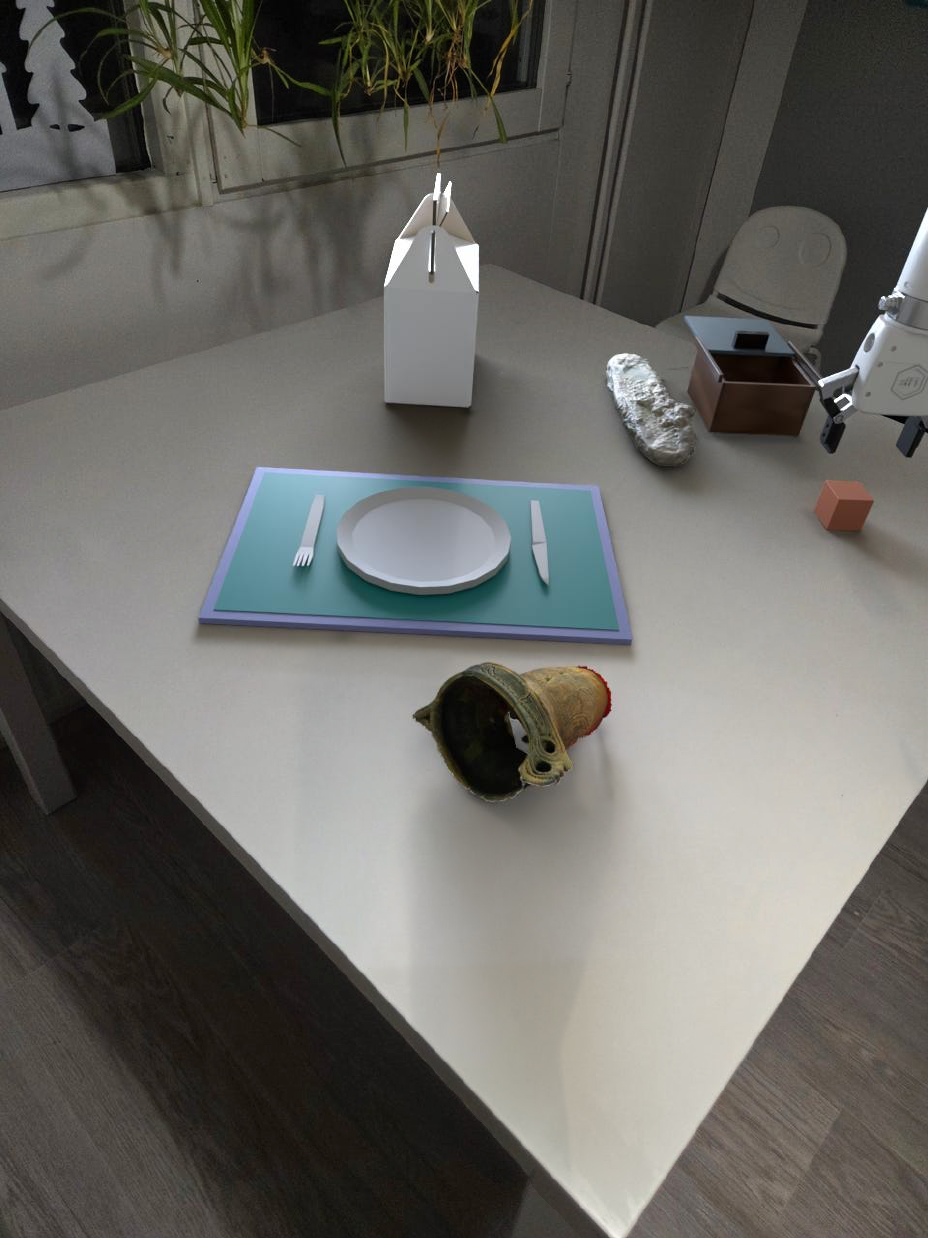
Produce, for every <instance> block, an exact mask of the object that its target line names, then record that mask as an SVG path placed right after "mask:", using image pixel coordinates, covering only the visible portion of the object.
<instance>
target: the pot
mask: <svg viewBox="0 0 928 1238" xmlns="http://www.w3.org/2000/svg"><path fill="white" fill-rule="evenodd" d="M612 706H613V704H612V691H611V689H610V686H608V681H606V680H605V678H603V676H602V675H601V674H600V673H599V672H596V670H594V669H591V668H588V666H587V665H578V666H572V665H570V666H569V665H566V666H564V665H563V666H549V667H546V666H545V667H540V668H536V669H532V670H530V671H526V672H523V673H520V674H519V673H518V672H516V671H515V670H514V669H511V668H510V667H507V666H505V665H502V664H499V663H496V662H491V661H487V662H481V663H478V664H474V665H471V666H469V667H467V668H465V669H464V670H462V671H461V672H458V673H456V674H453V675H452V676H450V677H449V678H447V680H445V681H444V682H443V684H442V685H441V686H440V688H439V689H438V691H437V693H436V696H435V698H434V699H433V700H432V701H431V702H430V703H429V704H427V705H425V706H423V707H420V708H418V709H417V710H415V712H414V713H413V714H412V715H411V719H412V720H415V723H419V724H420V725H421V726H422V727H424V729H425V730H427V731H428V732H431V734H432V735H431V737H432V738H433V739H434V741H435V743H436V750H437V751H438V753H439V754H440V755H439V756H440V758H443V763H444V764H445V766H446V767H447V770H448V771H449V772H450V774H451V775H452V777H453V779H455V780H456V782H457V783H458V784H459V785H461V787H462V788H464V789H465V790H466V791H469V792H470V793H471V794H472V795H475V797H477V798H479V799H484V801H485V802H492V803H493V804H494V803H495V802H498V803H500V802H504V801H506V800H507V799H509V798H510V799H511V800H513V799H514V798H516V796H517V795H519V793H520V792H523V790H525V789H527V788H528V787H530V786H536V787H539V786H540V787H549V786H551V785H555V786H559V784H560V783H561V780H563V779H564V777H565V775H566V773H569V771H571V772H572V770H573V762H572V760H571V759H570V757H569V756H568V753H567V750H569V749H570V748H571V747H572V746H574V745H575V744H576V743H577V742H578V741H579V739H583V738H586V737H589V736H591V735H592V733H594V732H595V731H596V730H598V729H599V727H600V725H601V723H602V721H603V719H606V718H607V717H608V716H609V715H610V713H611V712H612ZM512 720H513V721H518V722H519V724H520V725H521V727H522V729H523V730H524V731H525V735H523V736H522V737H521V738H520V741H521V742H522V743H524V744H528V751H527V752H526V751H525V750H523V749H521V748H519V747H518V746H517V742H516V737H515V734H514V730H513V726H512V722H511V721H512ZM513 797H514V798H513Z"/></svg>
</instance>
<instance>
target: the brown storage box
mask: <svg viewBox="0 0 928 1238" xmlns="http://www.w3.org/2000/svg"><path fill="white" fill-rule="evenodd" d="M787 345H788V346H789V347H790V348H791V349H792V351H793V352H794V353H795V355H794V357H779V356H757V355H735V354H713V353H709V351H708V350H707V348H706V346H705V345H704V343H703V342H702V340H701V339H700V337H695V338H694V346H695V348H696V350H697V351H696V355H695V358H694V362H693V365H692V371H691V375H690V379H689V382H688V386H687V391H686V393H687V394H688V397H689V398H690V400H691V402H692V404H693V405H694V407H695V409H696V411H697V413H698V416H699V417H700V418H701V420H702V422H703V424H704V426H705V427H706V429H707V432H708V433H710V434H732V435H733V434H734V435H759V436H783V437H799V436H800V434H801V431H802V429H803V427H804V424H805V420H806V417H807V415H808V412H809V409H810V407H811V404H812V401H813V398H814V395H815V393H816V390H817V387H818V382H819V381H820V380H822V379H824V378H825V377H823V376H822V374H821V373H820V372H819V371H818V370H817V368H816V367H815V366H814V365H813V364H812V363H811V361H810V360H809V359H808V358H807V357H806V356H805V354H804V353H803V352H802V351H801V350H800V349H799V347H798V346H797V345H796V344H795V343H794V341H792V340H789V341H788V343H787Z"/></svg>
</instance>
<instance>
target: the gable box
mask: <svg viewBox="0 0 928 1238" xmlns="http://www.w3.org/2000/svg"><path fill="white" fill-rule="evenodd" d="M435 180H436V181H435V187H434V192H430V193H429V194H426V196H425V197H424V198H423V200H422V201H421V203H420V204H419V206H418V207H417V209H416V210H415V211H414V213H413V215H412V217H410V220H409V221H408V223H407V224H406V226H405V227H404V229H403V230H402V232H401V233H400V235H399V236H398V238H397V239H396V240H395V242H394V245H393V250H392V253H391V258H390V262H389V265H388V270H387V272H386V273H387V274H386V277H385V281H384V285H383V355H384V356H383V357H384V358H383V359H384V361H383V364H384V365H383V366H384V367H383V368H384V369H383V370H384V371H383V375H384V379H383V381H384V382H383V383H384V384H383V385H384V387H383V389H384V393H383V394H384V396H383V397H384V403H386V404H400V405H401V404H403V405H417V406H432V407H433V406H435V407H449V408H450V407H452V408H465V409H466V408H467V409H469V408H471V406H472V397H473V384H474V369H475V357H476V355H475V354H476V340H477V329H478V328H477V327H478V311H479V299H480V298H479V296H480V255H479V254H480V245H479V244H477V242H476V240H475V239H474V236H473V235H472V233H471V231H470V230H469V227H468V226H467V224H466V222H465V220H464V218H463V216H462V215H461V213H460V211H459V209H458V207H457V205H456V203H455V201H454V200H453V198H452V196H451V191H452V189H451V188H452V182H451V181H449V182H448V185H447V186H446V188H445V191H444V192H441V181H442V174H441V173H437V174H436V179H435Z"/></svg>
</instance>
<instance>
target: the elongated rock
mask: <svg viewBox="0 0 928 1238" xmlns="http://www.w3.org/2000/svg"><path fill="white" fill-rule="evenodd" d="M605 370H606V371H605V377H606V379H607V383H606V384H607V385H606V388H607V389H608V391H609V392H610V393H611V394H612V396H613V400H614V401H613V402H614V409H615V410H616V411H618V413H619V415H620V418H621V421H622V426H623V427H624V429H625V430H627V432H628V434H629V435H630V438H631V439H632V442H634V443H635V445H634V446H635V448H636V449H637V451H640V452H641V453H642V455H643V456H644V457H645V458H647V459H648V460H649V461H651V462H652V463H654V464H655V465H657V466H661V467H675V466H677V467H678V466H681V465H684V464H686V463H687V461H688V460H689V458H690V456H691V457H692V456H693V454H694V453H695V449H696V446H697V440H698V438H697V437H698V435H697V432H696V431H695V430H694V427H693V423H692V418H693V417H695V413H696V412H695V409H694V407H693V406H691V405H688V404H685V403H682V402H681V403H680V402H677V401H676V400H675V399H673V398H670V394H669V392H668V390H667V387H666V386H664V382H663V381H662V379H661V378H660V376H658V373H657V371H655V370H653V368H652V366H650V362H649V360H648V359H647V358H645V359H644V357H643V356H640V355H638V354H635V353H634V354H633V353H628V352H624V353H621V354H620V353H618V354H615V355H614V356H612V357H611V358H610V359H609V361H608V362H607V365H606V366H605Z"/></svg>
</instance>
